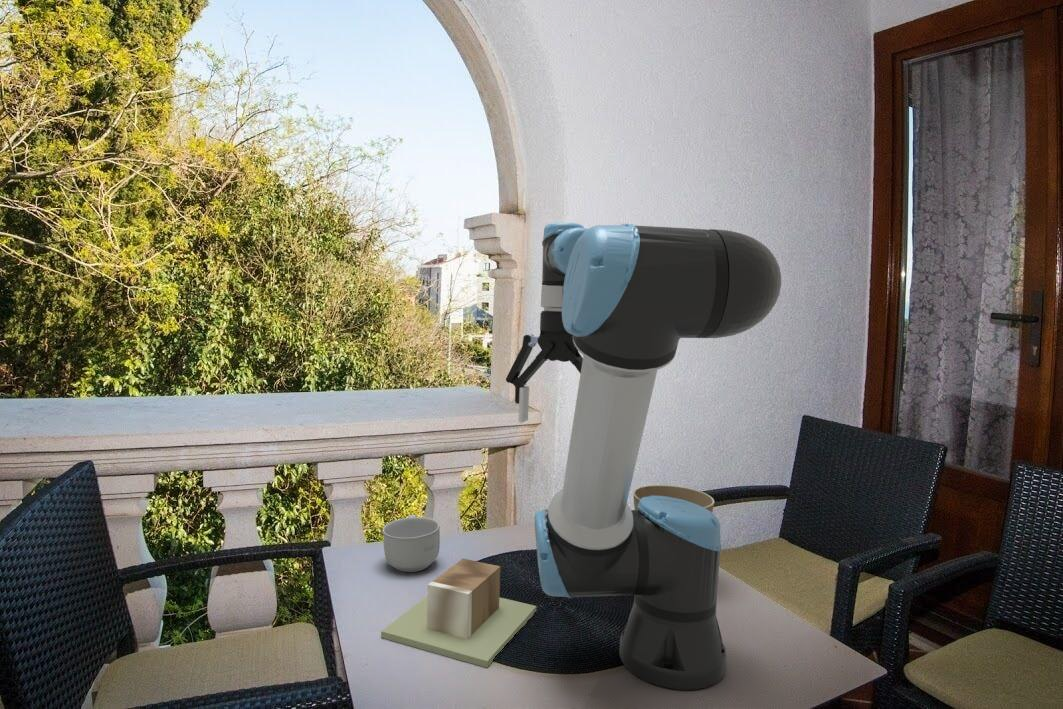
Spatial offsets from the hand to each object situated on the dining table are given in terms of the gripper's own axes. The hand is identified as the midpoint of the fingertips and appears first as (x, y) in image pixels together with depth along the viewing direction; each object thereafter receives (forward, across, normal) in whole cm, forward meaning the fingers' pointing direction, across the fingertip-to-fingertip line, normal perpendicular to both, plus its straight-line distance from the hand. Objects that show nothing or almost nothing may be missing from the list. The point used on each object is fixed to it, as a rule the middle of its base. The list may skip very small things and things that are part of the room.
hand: (556, 425), depth 118 cm
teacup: (+29, +26, +7) cm, 40 cm away
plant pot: (+29, -20, -9) cm, 37 cm away
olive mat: (+29, +6, +23) cm, 38 cm away
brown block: (+24, +6, +18) cm, 30 cm away
